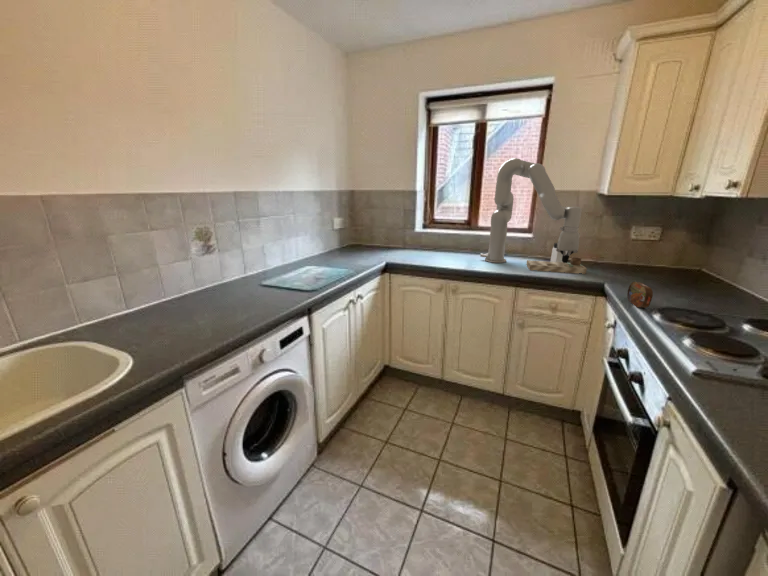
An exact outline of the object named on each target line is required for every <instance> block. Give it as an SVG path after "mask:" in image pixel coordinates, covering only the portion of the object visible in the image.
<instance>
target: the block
mask: <svg viewBox="0 0 768 576" xmlns="http://www.w3.org/2000/svg"><path fill="white" fill-rule="evenodd" d="M569 263H570V264H572V265H580V264H581V263H582V257H581V256H571V258H570V261H569Z"/></svg>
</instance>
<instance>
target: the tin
mask: <svg viewBox="0 0 768 576" xmlns="http://www.w3.org/2000/svg"><path fill="white" fill-rule="evenodd" d="M626 295H627V296H626V297H627V300H628V302H629V303H630V304H632V305H634V307H636V308H640V309H647V308H648V307H649V306H650V305H651V303H652V299H653V296H654V292H653V289H652V287H650V286H648V285H646V284H644V283H642V282H639V281H632V282H631V283H630V284H629V287H628V290H627V294H626Z"/></svg>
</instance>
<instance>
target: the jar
mask: <svg viewBox="0 0 768 576" xmlns="http://www.w3.org/2000/svg"><path fill="white" fill-rule="evenodd" d="M557 243H558V242H554V243H553V247H552V251H551V254H550V255H551V256H550V261H549V262H563V261H562V256H563V255H562V254H561V253H560V252H557V251H556V249H557ZM566 254H567V251H566Z"/></svg>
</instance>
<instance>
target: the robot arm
mask: <svg viewBox="0 0 768 576" xmlns="http://www.w3.org/2000/svg"><path fill="white" fill-rule="evenodd" d="M514 175H515V176H519V177H523V178H527V179H529V180H530V181H531V183H532V185H533V187H534V189H535V191H536V193H537V195H538V197H539V199H540V201H541V203H542V206H544V209H545V211H546V213H547V215H548V216H549V218H550V219H551V220H552V221H560V220H563V226H562V227H560V228H559V230H560V234H559V236H558V240H557V242H556V243H557V249H556V251H557V252H560V253H561V254H562V255H563V256H562V261H563V263H568V262H569V260H570V256H572V254H576V253H577V254H578V251H579V248H580V247H579V246H580V238H581V237H580V232H579V229H580V228H579V227H580V223H581V217H582V211H583V208H582V207H580V206H563V205H562V204H561V202H560V200H559V198H558V196H557V194H556V190H555V186H554V184H553V182H552V180H551V178H550V176H549V175H548V173H547V171H546V167H545V165H543V164H542V163H538V162H537V163H536V162H530V161H526V160H523V159H520V158H517V157H514V158H510V159H508V160H506V161H504V163H502V164H501V166H500V168H499V169H498V172H497V176H496V184H495V185H496V186H495V192H494V194H495V195H494V199H493V200H494V203H495V205H496V209H495V211H494V212H492V214H491V217H490V232H489V243H488V244H489V245H488V252H487V253H480V255H479V256H480V257H481V258H484V261H485V262H488V263H489V262H490V263H493V264H495V263H497V264H503V263H506V262H507V259H506V258H505V251H506V243H507V235H508V234H507V233H508V223H510V221H511V219H512V216H513V207H514V201H515V200H514V194H513V192H512V184H513V176H514ZM566 251H567V254H566Z"/></svg>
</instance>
